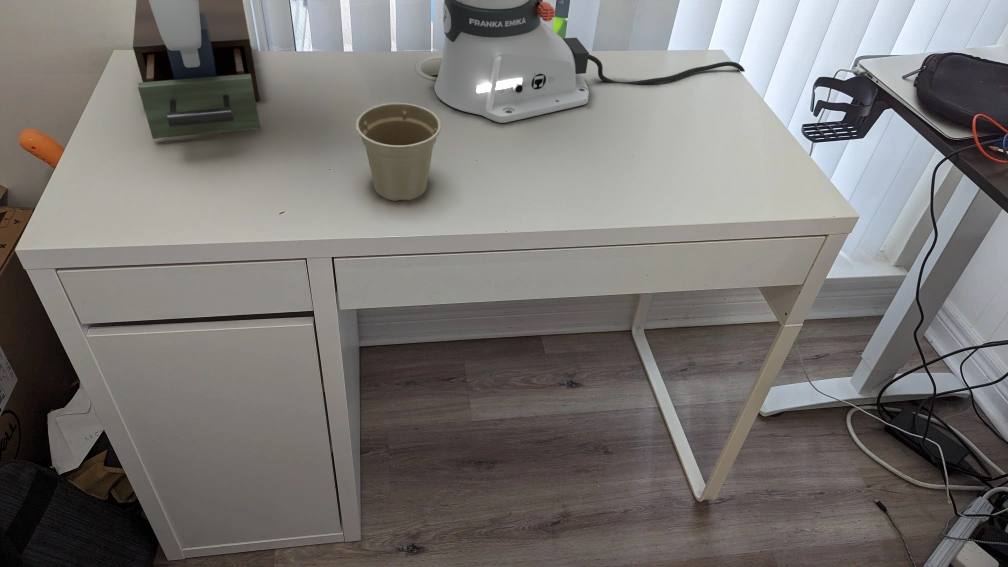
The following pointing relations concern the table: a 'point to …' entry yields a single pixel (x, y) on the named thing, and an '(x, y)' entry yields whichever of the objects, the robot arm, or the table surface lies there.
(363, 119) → the flower pot
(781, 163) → the table surface
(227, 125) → the drawer
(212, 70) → the block
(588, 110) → the table surface
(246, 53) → the cabinet
